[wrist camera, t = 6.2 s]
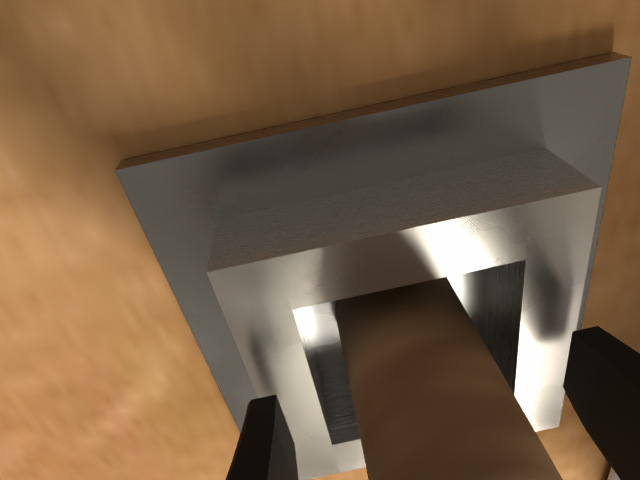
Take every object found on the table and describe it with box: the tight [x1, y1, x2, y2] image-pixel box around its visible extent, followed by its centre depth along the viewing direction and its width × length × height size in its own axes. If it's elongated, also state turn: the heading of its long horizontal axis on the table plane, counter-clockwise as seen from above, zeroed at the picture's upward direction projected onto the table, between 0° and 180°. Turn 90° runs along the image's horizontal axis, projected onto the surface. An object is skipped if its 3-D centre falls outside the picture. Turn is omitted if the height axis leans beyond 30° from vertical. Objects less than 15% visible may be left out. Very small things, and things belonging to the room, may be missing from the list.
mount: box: [115, 52, 632, 480], centre depth 13 cm, size 12×12×3 cm
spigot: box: [336, 277, 563, 480], centre depth 11 cm, size 4×4×6 cm
